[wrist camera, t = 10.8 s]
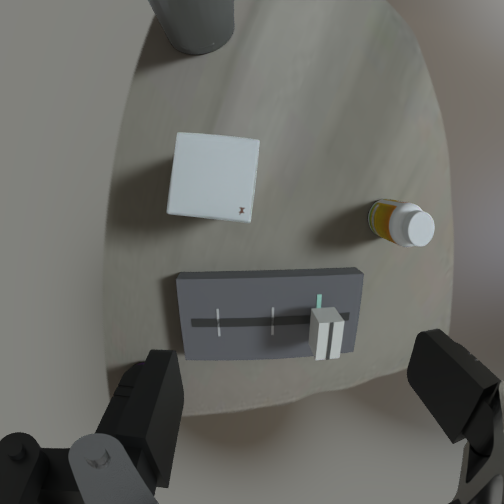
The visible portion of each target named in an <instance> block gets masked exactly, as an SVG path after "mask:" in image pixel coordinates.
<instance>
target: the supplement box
mask: <svg viewBox="0 0 504 504" xmlns="http://www.w3.org/2000/svg"><path fill="white" fill-rule="evenodd" d="M259 143H260V141H259V140H256V139H250V138H243V137H234V136H225V135H214V134H201V133H184V132H178V133H177V138H176V145H175V152H174V159H173V165H172V172H171V179H170V186H169V194H168V203H167V213H168V214H172V215H182V216H192V217H201V218H208V219H219V220H228V221H236V222H244V223H250V222H251V215H252V207H253V200H254V193H255V184H256V175H257V165H258V154H259Z"/></svg>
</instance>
